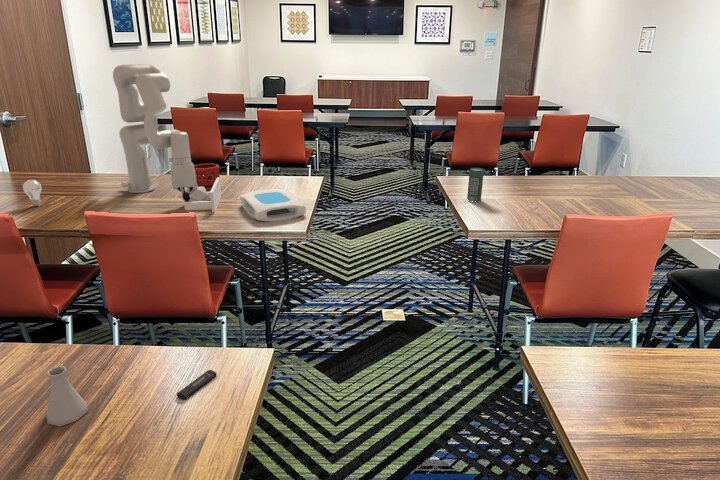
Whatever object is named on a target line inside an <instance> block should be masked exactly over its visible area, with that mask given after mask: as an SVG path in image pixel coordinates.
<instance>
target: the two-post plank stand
mask: <svg viewBox="0 0 720 480" xmlns="http://www.w3.org/2000/svg"><path fill="white" fill-rule="evenodd" d="M220 180H221V178H220V176H219V178H217V179H216V181H215V183H214V185H213V187H212V189H211V191H207V194H208V198H207V201H194V202H192V201H189V202H185V201H184V202H183V203H184V204H183V205H184V210H185V211H200V210H201V211H205V210H211V213H216V211H217V207H218V206H219V203H220V202H221V197H222V190H221V189H222V188H221V186H222V185H221V181H220Z"/></svg>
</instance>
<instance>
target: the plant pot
mask: <svg viewBox="0 0 720 480" xmlns="http://www.w3.org/2000/svg"><path fill="white" fill-rule="evenodd" d="M194 168H195V173H196V178H197V185H198V187H205V189H206V191H207V192H210V191H211V189H212V187H213V185H214V183H215V181H216V179H217V178H219V177H220V166H219V164H217V163H200V164H196V165H194Z"/></svg>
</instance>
